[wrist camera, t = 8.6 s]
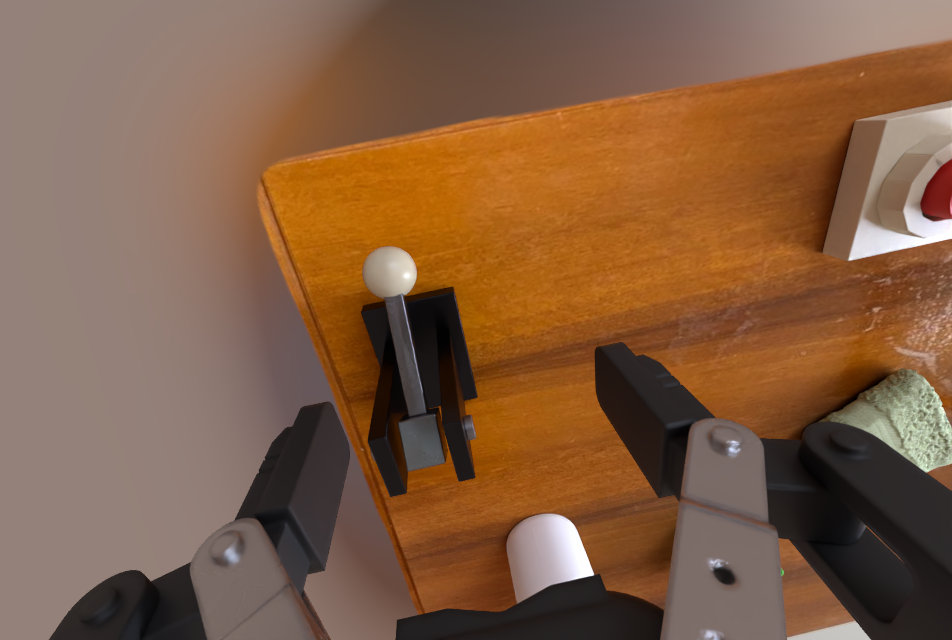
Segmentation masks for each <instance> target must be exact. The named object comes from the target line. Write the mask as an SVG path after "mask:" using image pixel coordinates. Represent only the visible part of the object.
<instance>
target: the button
mask: <svg viewBox="0 0 952 640" xmlns="http://www.w3.org/2000/svg"><path fill="white" fill-rule="evenodd" d="M920 206H921V210H922V211H923V212H924V213H925V214H927V215H929V216H935V217H941V218H947V219H952V159H951V160H949V161H948V162H946V163H945V164H943V165H942V166H941V167H940V168H939V169H938V170H937V172H936V173H935V174H934V175H933V177H932V178H931V179H930V181H929V182H928V183H927V185H926V188H925V190H924V193H923V196H922V199H921V202H920Z"/></svg>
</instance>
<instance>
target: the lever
mask: <svg viewBox="0 0 952 640" xmlns="http://www.w3.org/2000/svg"><path fill="white" fill-rule="evenodd" d="M362 275H363V280H364V282H365V285H366V286H367V288H368V289H369V290H370V291H371V292H372V293H373V294H374V295H376V296H378V297H380V298H383V299H385V304H386V308H387V313H388V318H389V323H390V328H391V333H392V338H393V343H394V348H395V352H396V357H397V362H398V367H399V372H400V377H401V382H402V387H403V392H404V397H405V401H406V406H407V411H408V414H405V415H404V416H403V417H402V418H401V419H400V421H399V422H398V428H399V433H400V438H401V443H402V448H403V453H404V458H405V463H406V468H407V471H413V470H418V469H422V468H426V467H431V466H435V465H440V464H444V463H445V462H446V457H447V453H448V449H447V444H446V439H445V434H444V429H443V426H442V420H441V415H440V410H439V408H438V407H437V408H432V409H428V404H427V399H426V394H425V389H424V385H423V380H422V375H421V370H420V365H419V361H418V356H417V351H416V346H415V341H414V336H413V332H412V327H411V322H410V317H409V312H408V308H407V303H406V298H405V295H406V294H407V293H409V292H410V290H411V289H412V288H413V286H414V284H415V282H416V277H417V270H416V265H415V263H414V261H413V259H412V258H411V256H410V255H409V254H408V253H407V252H405V251H404V250H402V249H400V248H398V247H394V246H384V247H380V248H378V249H376V250H374V251H373V252H371V253H370V254H369V255H368V257H367V258H366V260H365V262H364V265H363V270H362Z"/></svg>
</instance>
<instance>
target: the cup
mask: <svg viewBox="0 0 952 640" xmlns="http://www.w3.org/2000/svg"><path fill="white" fill-rule="evenodd" d="M506 546H507V555H508V560H509V566H510V571H511V576H512V581H513V586H514V591H515V596H516V601H517V604H518V603H520V602H521V601H523V600H525V599H527V598H528V597H530V596H532V595H534V594H536V593H537V592H539V591H541V590H543V589H544V588H546V587H548V586H550V585H553V584H557V583H562V582H566V581H571V580H575V579H579V578H584V577H588V576H593V575H594V573H593V571H592V568H591V565H590V563H589V560H588V558H587V555H586V552H585V550H584V547H583V544H582V542H581V539H580V537H579V534H578V532H577V530H576V528H575V526H574V525H573V524H572V522H571V521H569V520H568V519H567V518H565V517H563V516H561V515H557V514H539V515H535V516H532V517H529V518H527V519H525V520H523V521H521V522H520V523H518V524H517V525H516V526H515V527H514V528H513V529H512V531H511V532H510V534H509V536H508V539H507V544H506Z"/></svg>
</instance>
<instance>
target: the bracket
mask: <svg viewBox="0 0 952 640" xmlns="http://www.w3.org/2000/svg"><path fill="white" fill-rule="evenodd" d="M405 298H406V303H407V308H408V312H409V317H410V322H411V327H412V332H413V336H414V341H415V346H416V351H417V356H418V361H419V365H420V370H421V375H422V380H423V385H424V389H425V394H426V399H427V404H428V409H429V408H434V407H438V406H441V411H442V426H443V429H444V432H445V436H446V439H447V443H448V446H449V450H450V453H451V457H452V460H453V464H454V467H455V471H456V474H457V478H458V481H459V482H460V481H465V480H469V479H473V478H475V471H474V464H473V458H472V451H471V444H470V440H472V439H476V434H475V428H474V424H473V419H472V416H471V415H467V416H466V411H465V404H464V401H465V400H470V399H474V398H477V397H478V396H477V391H476V387H475V382H474V378H473V373H472V369H471V364H470V360H469V355H468V351H467V346H466V342H465V337H464V332H463V328H462V323H461V319H460V314H459V310H458V305H457V301H456V296H455V292H454V288H453V287H449V288H444V289H439V290H435V291H430V292H425V293H421V294H416V295H411V296H407V297H405ZM361 314H362V317H363V320H364V322H365V325H366V328H367V331H368V334H369V337H370V339H371V342H372V345H373V348H374V351H375V354H376V356H377V359H378V362H379V365H380V368H381V369H380V374H379V380H378V385H377V391H376V397H375V402H374V408H373V413H372V419H371V425H370V430H369V436H368V444H369V447H370V450H371V455H372V457H373V459H374V461H376V464H377V466H378V468H379V471H380V473H381V476H382V478H383V480H384V483H385V485H386V488H387V490H388V492H389V495H390V497H393V496H398V495H402V494H406V493H407V479H408V471H407V468H406V463H405V458H404V453H403V448H402V443H401V438H400V433H399V428H398V422H399V421H400V419H401V418H402V417H403V416H404V415H405V414H408V411H407V406H406V401H405V397H404V392H403V387H402V382H401V377H400V372H399V367H398V362H397V357H396V352H395V348H394V343H393V338H392V333H391V328H390V323H389V318H388V313H387V308H386V304H385V301H383V302H378V303H374V304H369V305H364V306H363V308H362V311H361Z"/></svg>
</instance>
